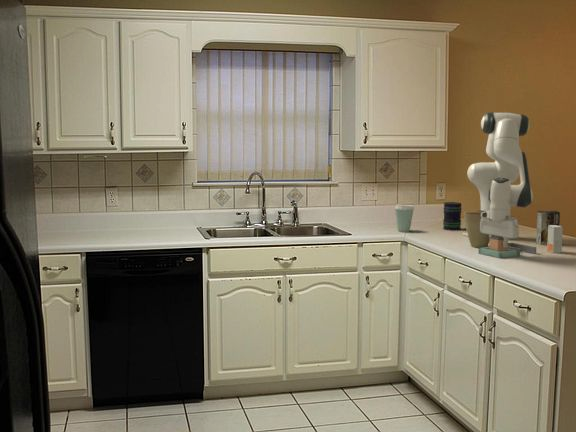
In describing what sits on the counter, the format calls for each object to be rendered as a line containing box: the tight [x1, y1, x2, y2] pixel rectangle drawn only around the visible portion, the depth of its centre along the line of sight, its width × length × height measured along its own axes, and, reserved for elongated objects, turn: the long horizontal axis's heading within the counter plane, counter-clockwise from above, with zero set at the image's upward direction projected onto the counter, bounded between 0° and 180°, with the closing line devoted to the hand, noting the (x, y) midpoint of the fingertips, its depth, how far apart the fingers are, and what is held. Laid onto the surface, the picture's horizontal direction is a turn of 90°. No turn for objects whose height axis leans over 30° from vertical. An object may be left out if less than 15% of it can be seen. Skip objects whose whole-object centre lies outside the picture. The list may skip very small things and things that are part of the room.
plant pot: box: [463, 211, 490, 249], centre depth 318 cm, size 15×15×16 cm
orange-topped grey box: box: [488, 236, 509, 252], centre depth 296 cm, size 5×6×6 cm
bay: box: [508, 242, 537, 257], centre depth 304 cm, size 15×11×3 cm
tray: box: [478, 246, 519, 259], centre depth 297 cm, size 13×11×2 cm
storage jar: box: [442, 201, 462, 232], centre depth 378 cm, size 10×10×15 cm
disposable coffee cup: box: [394, 203, 415, 233], centre depth 370 cm, size 11×11×15 cm
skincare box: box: [546, 225, 564, 254], centre depth 304 cm, size 6×4×12 cm
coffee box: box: [535, 210, 561, 246], centre depth 327 cm, size 9×6×16 cm
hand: (498, 245), depth 297 cm, fingers closed on orange-topped grey box, 5 cm apart
